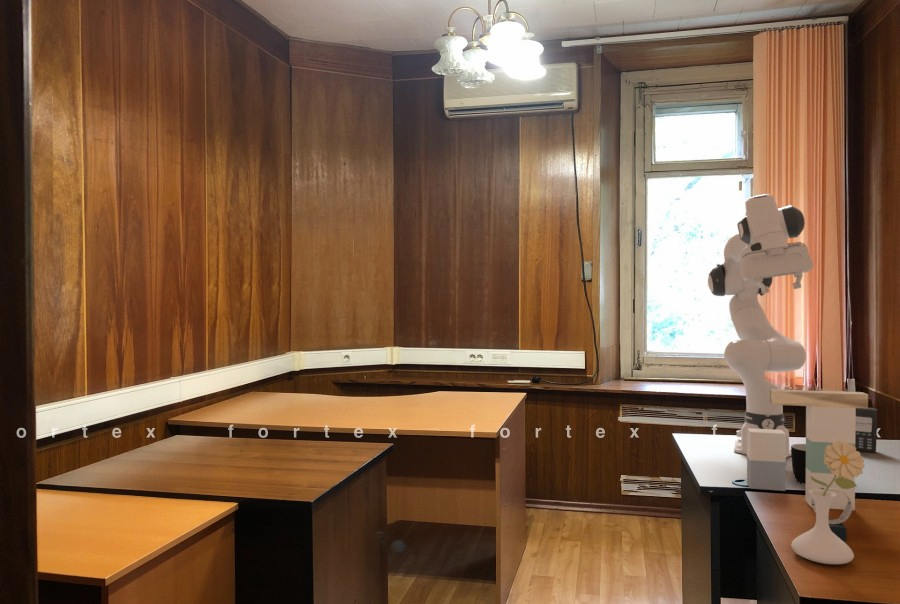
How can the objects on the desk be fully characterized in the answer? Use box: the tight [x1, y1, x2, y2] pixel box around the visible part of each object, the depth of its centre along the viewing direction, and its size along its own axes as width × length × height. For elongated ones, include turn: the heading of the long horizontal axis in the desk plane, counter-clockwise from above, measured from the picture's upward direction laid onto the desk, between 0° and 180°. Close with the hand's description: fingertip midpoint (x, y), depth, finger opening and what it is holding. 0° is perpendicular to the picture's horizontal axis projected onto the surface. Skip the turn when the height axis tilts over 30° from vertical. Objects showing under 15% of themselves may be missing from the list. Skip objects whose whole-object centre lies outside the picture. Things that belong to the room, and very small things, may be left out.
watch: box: [812, 487, 854, 543], centre depth 147 cm, size 6×8×11 cm
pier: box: [746, 428, 787, 492], centre depth 183 cm, size 5×9×16 cm, turn 75°
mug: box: [790, 443, 806, 485], centre depth 189 cm, size 12×9×10 cm
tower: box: [805, 406, 856, 511], centre depth 167 cm, size 5×10×26 cm, turn 75°
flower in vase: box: [790, 440, 865, 565], centre depth 134 cm, size 13×11×25 cm
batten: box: [770, 389, 869, 408], centre depth 167 cm, size 4×22×4 cm, turn 75°
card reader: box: [855, 407, 878, 454], centre depth 222 cm, size 9×4×15 cm, turn 57°
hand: (781, 290), depth 190 cm, fingers open, 8 cm apart
